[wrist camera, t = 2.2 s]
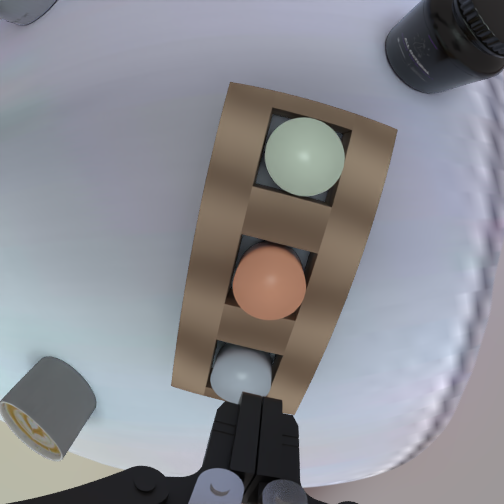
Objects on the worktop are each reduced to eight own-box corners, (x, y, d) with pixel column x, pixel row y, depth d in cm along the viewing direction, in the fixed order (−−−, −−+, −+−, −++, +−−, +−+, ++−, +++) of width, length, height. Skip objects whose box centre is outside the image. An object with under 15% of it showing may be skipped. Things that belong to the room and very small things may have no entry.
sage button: (275, 115, 20) (275, 108, 17) (342, 134, 20) (352, 130, 17) (258, 181, 22) (256, 184, 19) (325, 199, 22) (333, 205, 19)
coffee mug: (68, 352, 30) (22, 402, 21) (109, 412, 33) (78, 466, 23) (17, 361, 32) (-22, 398, 23) (52, 412, 35) (22, 452, 25)
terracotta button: (246, 233, 23) (241, 244, 20) (310, 250, 23) (315, 263, 20) (231, 293, 24) (226, 310, 22) (292, 308, 24) (293, 327, 22)
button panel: (235, 91, 21) (230, 81, 18) (383, 132, 21) (397, 129, 18) (179, 367, 29) (171, 386, 26) (293, 394, 29) (294, 414, 26)
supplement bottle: (374, 69, 20) (444, 11, 8) (394, 12, 18) (454, -55, 6) (442, 110, 20) (537, 91, 9) (457, 52, 18) (539, 15, 6)
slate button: (222, 333, 26) (215, 353, 23) (278, 347, 26) (278, 368, 23) (212, 375, 27) (206, 396, 24) (263, 387, 27) (262, 409, 24)
